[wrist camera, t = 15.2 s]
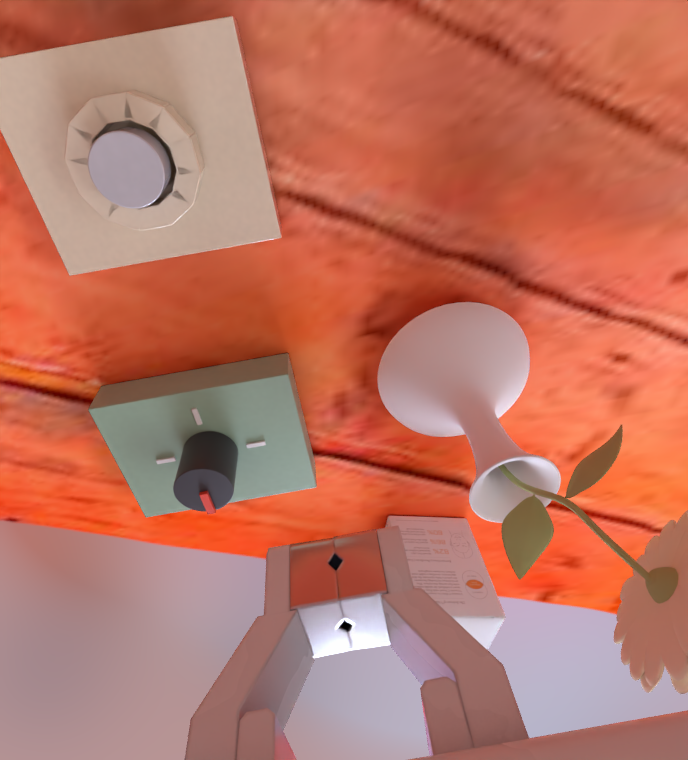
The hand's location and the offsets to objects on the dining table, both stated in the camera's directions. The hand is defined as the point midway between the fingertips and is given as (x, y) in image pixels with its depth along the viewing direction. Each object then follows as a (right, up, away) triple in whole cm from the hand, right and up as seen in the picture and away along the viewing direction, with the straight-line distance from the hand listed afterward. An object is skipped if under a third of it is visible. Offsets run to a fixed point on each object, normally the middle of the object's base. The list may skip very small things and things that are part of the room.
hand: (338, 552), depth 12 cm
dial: (-10, -1, +26) cm, 28 cm away
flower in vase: (+9, +6, +27) cm, 29 cm away
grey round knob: (-11, +15, +15) cm, 24 cm away
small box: (+8, -11, +38) cm, 41 cm away
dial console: (-10, 0, +29) cm, 30 cm away
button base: (-11, +17, +18) cm, 27 cm away
